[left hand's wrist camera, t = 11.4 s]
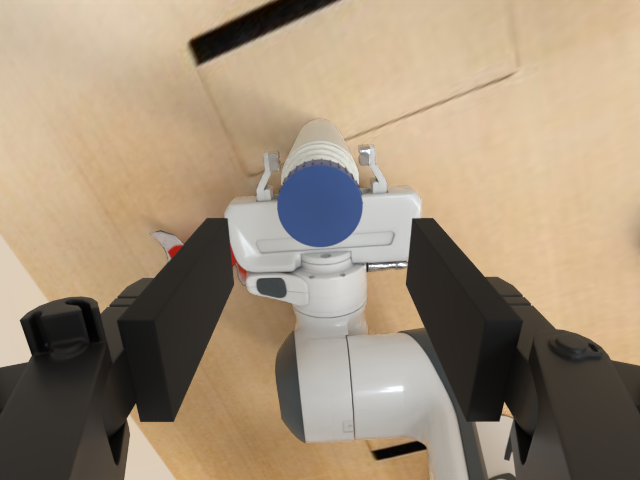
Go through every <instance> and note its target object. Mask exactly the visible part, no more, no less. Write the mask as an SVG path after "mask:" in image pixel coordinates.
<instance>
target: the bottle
mask: <svg viewBox="0 0 640 480" xmlns="http://www.w3.org/2000/svg"><path fill="white" fill-rule="evenodd" d="M321 158H322V160H331V161H333V162H335V163H339V164H340V165H341V166H343V167H344V168H345V167H346V168H347V170H348V171H349V172H350V173H352V174H353V176H354V179H355V181H356V180H357V182H358V185H359V173H358V169H357V166H356V163H355V161H354V159H353V157H352V155H351V153H350V151H349V149H348V147H347V145H346V143H345V141H344V138H343V136H342V134H341V132H340V130H339V129H338V127H337V126H336V125H335V124H333V123H332V122H330V121H328V120H324V119H315V120H312V121H310V122H308V123H307V124H305V125H304V126H303V127H302V129H301V130H300V132H299V134H298V136H297V138H296V140H295V142H294V145H293V147H292V149H291V151H290V153H289V155H288V157H287V159H286V161H285V163H284V166H283V169H282V173H281V185H283V184H282V183H283V181H284V178H286V177H287V176H288V174H289V172H290V171H292V170H293V169H294V168H295V167H296V166H299V165H300V164H302V163H303V162H304V161H305V162H307V161H311V160H312V159H314V160H318V159H321Z"/></svg>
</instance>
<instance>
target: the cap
mask: <svg viewBox="0 0 640 480" xmlns="http://www.w3.org/2000/svg"><path fill="white" fill-rule="evenodd" d="M282 184H283V185H281V187H280V190H279V192H280V193H279V196H278V198H277V201H278V202H277V211H278V216H279V220H280V222H281V224H282V226H283V228H284V229H285V231H286V232H287V233H288V234H289V235H290V236H291V237H292V238H294V239H295V240H296V241H298V242H300V243H302V244H304V245H307V246H311V247H328V246H333V245H336V244H338V243H340V242H342V241H344V240H345V239H347V238H348V237H349V236H350V235H351V234H352V233H353V232H354V231H355V229H356V228H357V226H358V224H359V222H360V219H361V216H362V211H363V201H362V196H361V195H362V193H361V190H360V188H358V187H359V185H358V182H357V180H356V181H355V179H354V176H353V174H352V173H350V172H349V171H348V170H347V168H346V167H345V168H344V167H343V166H341V165H340V164H339V163H335V162H333V161H331V160H322V158H321V159H318V160H314V159H312V160H311V161H307V162H305V161H304V162H303V163H302V164H300V165H299V166H296V167H295V168H294V169H293V170H292V171H290V172H289V174H288V176H287V177H286V178H284V181H283V183H282Z"/></svg>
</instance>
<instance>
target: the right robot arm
mask: <svg viewBox="0 0 640 480" xmlns="http://www.w3.org/2000/svg"><path fill="white" fill-rule="evenodd" d="M358 151H359V153H360V154H359V163H360V165H369V167H370V168H371V170H372V172H373V173H374V175H375V177H376V178H371V179H370V188H360V190H361V193H362V195H361V196H362V201H363V211H362V216H361V219H360V222H359V224H358V226H357V228H356V229H355V231H354V232H353V233H352V234H351V235H350V236H349V237H348V238H347V239H345V240H344V241H342V242H340V243H338V244H336V245H333V246H328V247H311V246H307V245H304V244H302V243H300V242H298V241H296V240H295V239H294V238H292V237H291V236H290V235H289V234H288V233H287V232H286V231H285V229H284V228H283V226H282V224H281V222H280V220H279V216H278V211H277V202H278V201H277V198H278V196H279V194H273V188H272V185H267V182H268V180H269V178H270V176H271V173H272V172H274V171H280V169H281V162H280V160H279V158H280V153H279V151H270V152H264V153H263V160H264V168H265V171H264V173H263V175H262V178H261V180H260V182H259V184H258V187H257V189H256V193H257V195H256V196H241V197H235V198H234V199H233V200H232V201H231V202H230V203H229V205H228V206H227V208H226V210H225V213H224V218H228V226H229V236H230V244H231V248H232V251H233V254H234V256H235V258H236V260H237V262H238V264H239V265H240V266H241V267H242V268H243V269H245V270H247V271H248V272H247V277H246V287H247V290H248V291H249V292H250V293H252V294H254V295H258V296H263V297H268V298H273V299H277V300H281V301H285V302H288V303H291V304H292V307H293V310H294V312H295V315H296V324H295V331H292V332H291V334H290V335H289V336H288V337H287V339H286V340H285V341H284V343H283V344H282V346H281V347H280V349H279V351H278V353H277V357H276V364H275V374H276V384H277V391H278V397H279V403H280V410H281V419H282V420H283V422H284V423H285V424H286V426H287V427H288V428H289V430H290V431H291V432H292V433H293V434H294V435H295V436H296V437H297V438H298V439H299V440H301V441H302V442H304V443H306V442H307V443H334V442H350V441H354V440H372V439H391V438H410V439H414V440H417V441H419V442H421V443H423V444H424V445H425V446H426V447H427V456H428V466H429V477H430V480H516V475H515V467H514V460H513V452H512V453H511V457H510V460H509V461H508V460H504V456H505V450H506V446H507V442H508V438H509V434H510V430H511V426H512V422H513V418H510V417H507V416H502V415H501V418H500V422H466V420H465V417H464V415H463V413H462V410H461V408H460V406H459V404H458V401H457V399H456V397H455V395H454V392H453V390H452V388H451V386H450V383H449V381H448V379H447V376H446V374H445V372H444V370H443V367H442V365H441V363H440V361H439V358H438V356H437V354H436V352H435V349H434V347H433V345H432V342H431V340H430V338H429V336H428V333H427V331H426V329H425V328H419V329H413V330H406V331H400V332H397V333H386V334H370V335H368V325H367V321H366V319H365V315H364V311H365V307H366V304H367V272H371V271H383V270H388V269H395V270H401V269H405V268H407V266H408V262H407V261H408V257H409V247H410V236H411V226H412V218H421V214H422V199H421V197H420V195H419V194H418V193H417V192H416V191H415V190H414V189H413V188H412V187H411V186H408V185H402V186H388V187H387V181H386V179H385V178H384V176H383V174H382V173H381V171H380V169H379V168H378V166H377V165H376V163H375V146H374V145H373V144H369V145H359V146H358Z"/></svg>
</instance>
